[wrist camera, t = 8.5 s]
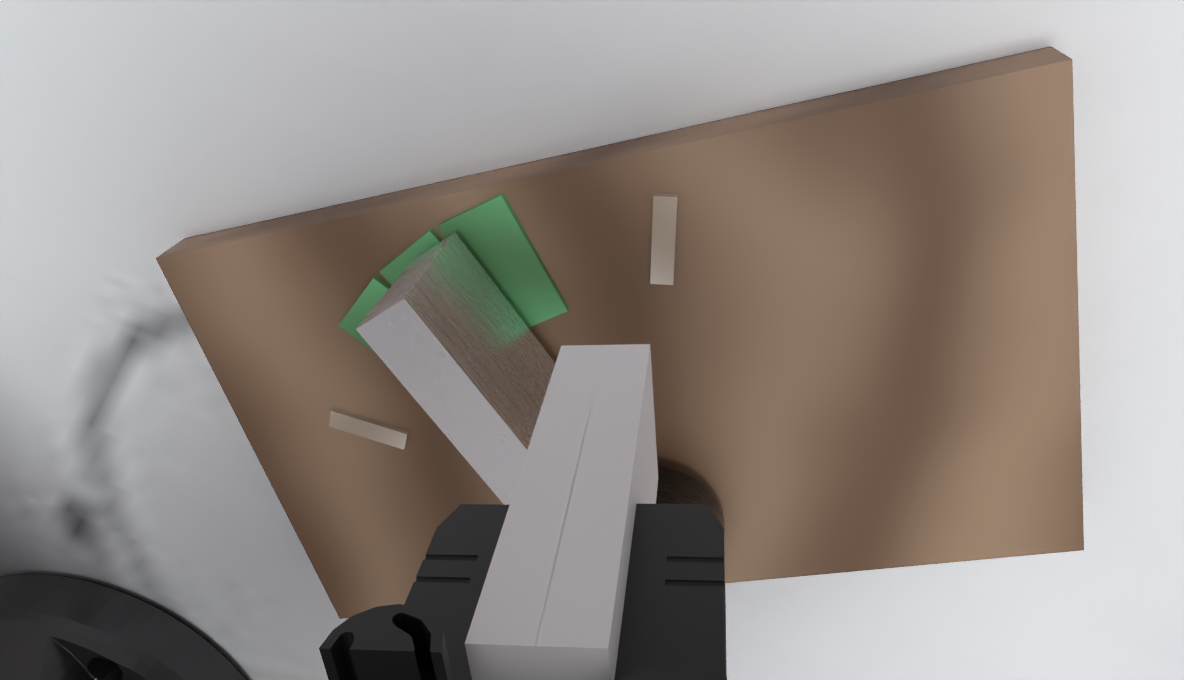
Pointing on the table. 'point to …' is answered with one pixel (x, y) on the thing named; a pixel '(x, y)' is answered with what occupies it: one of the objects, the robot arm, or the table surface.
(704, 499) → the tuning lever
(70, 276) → the table surface
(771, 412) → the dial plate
